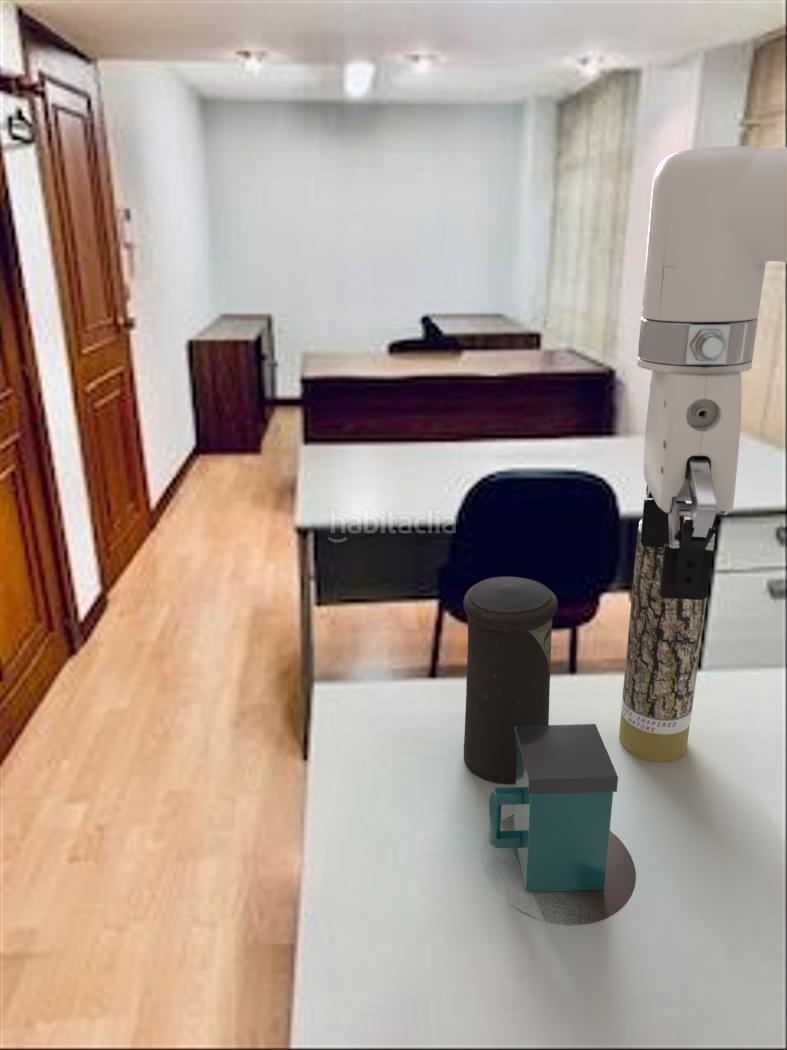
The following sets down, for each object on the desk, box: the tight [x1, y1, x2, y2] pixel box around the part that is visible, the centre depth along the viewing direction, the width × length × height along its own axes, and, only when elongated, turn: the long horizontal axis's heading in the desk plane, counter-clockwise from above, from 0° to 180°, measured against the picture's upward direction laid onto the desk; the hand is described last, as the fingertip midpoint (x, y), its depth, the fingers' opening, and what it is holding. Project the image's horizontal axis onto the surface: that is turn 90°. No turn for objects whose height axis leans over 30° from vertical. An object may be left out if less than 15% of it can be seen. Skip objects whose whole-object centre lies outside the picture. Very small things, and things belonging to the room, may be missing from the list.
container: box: [462, 576, 559, 785], centre depth 75 cm, size 9×9×20 cm
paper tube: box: [618, 517, 716, 763], centre depth 76 cm, size 7×7×25 cm
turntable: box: [481, 814, 637, 926], centre depth 65 cm, size 13×13×1 cm
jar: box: [487, 723, 619, 893], centre depth 63 cm, size 9×7×11 cm
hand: (670, 569), depth 59 cm, fingers open, 9 cm apart
